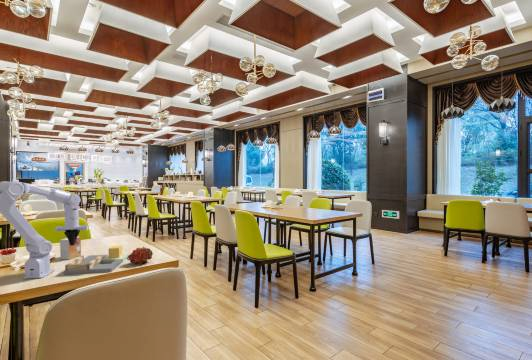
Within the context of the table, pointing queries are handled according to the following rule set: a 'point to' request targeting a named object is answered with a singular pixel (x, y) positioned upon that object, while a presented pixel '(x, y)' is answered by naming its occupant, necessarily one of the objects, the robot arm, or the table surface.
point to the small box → (70, 248)
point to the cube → (115, 251)
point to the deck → (100, 264)
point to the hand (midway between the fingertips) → (72, 245)
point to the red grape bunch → (140, 255)
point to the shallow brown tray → (76, 266)
